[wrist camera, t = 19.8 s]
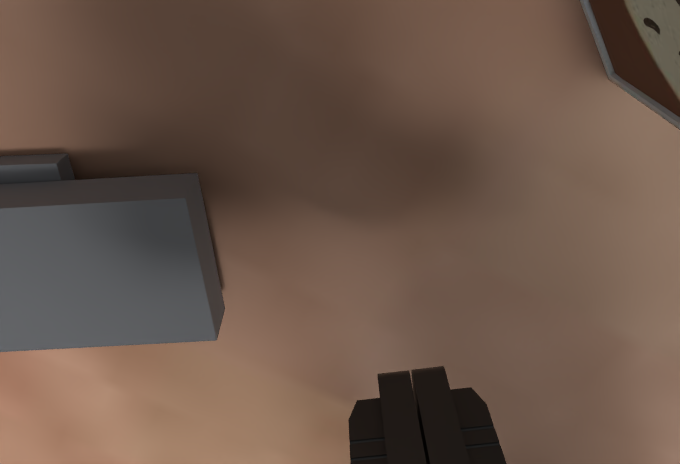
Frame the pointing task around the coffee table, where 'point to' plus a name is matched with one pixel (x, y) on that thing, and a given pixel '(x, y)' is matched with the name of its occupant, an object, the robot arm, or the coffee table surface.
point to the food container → (640, 49)
